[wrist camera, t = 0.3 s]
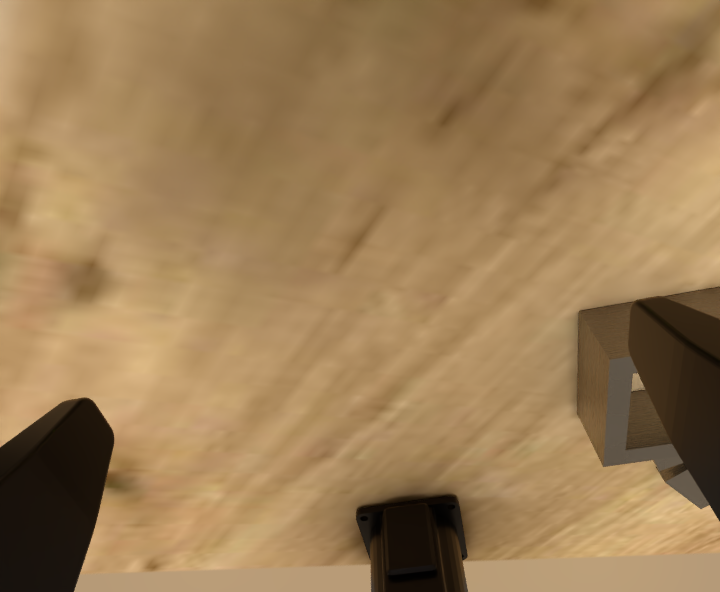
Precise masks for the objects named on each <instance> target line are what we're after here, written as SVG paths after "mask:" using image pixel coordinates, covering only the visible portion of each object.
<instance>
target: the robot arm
mask: <svg viewBox="0 0 720 592" xmlns="http://www.w3.org/2000/svg"><path fill="white" fill-rule="evenodd" d="M628 349H629V353H630V357H631V359H632V361H633V363H634V365H635V368H636V370H637V372H638V374H639V376H640V378H641V380H642V382H643V385H644V387H645V389H646V391H647V393H648V395H649V397H650V399H651V402H652V404H653V406H654V408H655V410H656V412H657V414H658V417H659V419H660V421H661V423H662V425H663V427H664V429H665V431H666V433H667V435H668V437H669V439H670V441H671V443H672V445H673V446H674V448H675V450H676V451H677V453H678V455H679V457H680V458H681V460H682V461H683V463H684V465H685V466H686V468H687V469H688V471H689V473H690V474H691V476H692V478H693V479H694V481H695V482H696V484H697V486H698V487H699V489H700V490H701V492H702V494H703V495H704V497H705V498H706V500H707V502H708V503H709V505H710V506H711V508H712V510H713V511H714V513H715V515H716V516H717V518H718V519H719V521H720V319H719V318H717V317H714V316H712V315H709V314H707V313H704V312H702V311H699V310H696V309H694V308H691V307H689V306H686V305H684V304H681V303H679V302H676V301H674V300H671V299H668V298H666V297H663V296H656V297H651V298H645V299H639V300H636V301H634V302H633V303H632V305H631V308H630V319H629V333H628ZM113 446H114V433H113V430H112V428H111V427H110V425H109V424H108V422H107V421H106V419H105V418H104V416H103V415H102V413H101V412H100V410H99V409H98V407H97V406H96V404H95V403H94V402H93V401H92V400H91V399H89V398H78V399H72V400H67V401H64V402H62V403H60V404H59V405H58V406H56V407H55V408H53V409H52V410H51V411H49V412H48V413H47V414H45V415H44V416H43V417H41V418H40V419H38V420H37V421H36V422H34V423H33V424H32V425H30V426H29V427H27V428H26V429H25V430H23V431H22V432H21V433H19V434H18V435H17V436H15V437H14V438H12V439H11V440H10V441H8V442H7V443H6V444H4V445H3V446H1V447H0V592H74V590H75V587H76V584H77V581H78V577H79V575H80V572H81V569H82V566H83V563H84V560H85V557H86V554H87V551H88V547H89V544H90V541H91V538H92V535H93V532H94V528H95V525H96V521H97V517H98V513H99V509H100V504H101V500H102V495H103V491H104V486H105V482H106V477H107V473H108V469H109V464H110V460H111V455H112V451H113ZM356 520H357V523H358V526H359V529H360V532H361V535H362V537H363V540H364V543H365V546H366V549H367V552H368V555H369V558H370V561H371V592H468V589H467V584H466V578H465V573H464V567H463V561H462V560H464V559H466V558H467V556H468V555H467V549H466V543H465V537H464V531H463V525H462V519H461V513H460V507H459V502H458V499H457V498H456V497H453V496H449V497H442V498H434V499H427V500H419V501H412V502H404V503H397V504H389V505H382V506H375V507H367V508H361V509H359V510H357V512H356Z"/></svg>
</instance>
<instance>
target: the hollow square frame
mask: <svg viewBox="0 0 720 592" xmlns="http://www.w3.org/2000/svg"><path fill="white" fill-rule="evenodd" d="M665 297H666V298H668V299H671V300H674V301H676V302H679V303H681V304H684V305H686V306H689V307H691V308H694V309H696V310H699V311H702V312H704V313H707V314H709V315H712V316H714V317H717V318H719V319H720V287H717V288H711V289H706V290H700V291H694V292H688V293H682V294H677V295H671V296H665ZM632 303H633V302H630V303H625V304H619V305H613V306H607V307H601V308H596V309H590V310H584V311H579V343H578V400H577V414H578V416H579V418H580V420H581V422H582V424H583V426H584V428H585V430H586V432H587V434H588V436H589V439H590V441H591V443H592V445H593V447H594V449H595V451H596V453H597V455H598V457H599V459H600V461H601V463H602V465H603V467H606V466H613V465H620V464H627V463H635V462H642V461H649V460H656V459H663V458H670V457H677V456H679V455H678V453H677V451H676V450H675V448H674V446H673V445H672V443H671V441H670V439H669V437H668V435H667V433H666V431H665V429H664V427H663V425H662V423H661V421H660V419H659V417H658V414H657V412H656V410H655V408H654V406H653V404H652V402H651V399H650V397H649V395H648V393H647V391H646V390H642V391H636V392H631V386H632V375H633V373H638V372H637V370H636V368H635V365H634V363H633V361H632V359H631V357H630V353H629V349H628V333H629V319H630V308H631V305H632Z"/></svg>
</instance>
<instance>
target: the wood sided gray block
mask: <svg viewBox="0 0 720 592" xmlns="http://www.w3.org/2000/svg"><path fill="white" fill-rule="evenodd" d="M656 468H657V467H656ZM658 471H659V470H658ZM659 473H660V475H661V476H662V478H663V480H664V481H665V482H666V483H667V484H668V485H670V486H671V487H672V488H674V489H675V490H676V491H678V492H679V493H680V494H682V495H683V496H684V497H686V498H687V499H688V500H689V501H691V502H692V503H693V504H695V505H696V506H697V507H699V508H700V509H702V508H704V507H706V506H708V505H709V503H708V502H707V500H706V498H705V497H704V495H703V494H702V492H701V490H700V489H699V487H698V486H697V484H696V482H695V481H694V479H693V478H692V476H691V474H690V473H689V471H688V469H687V468H686V466H685V465H684V463H681V464H678V465H676V466H673V467H670V468H667V469H664V470H661V471H659Z"/></svg>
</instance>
